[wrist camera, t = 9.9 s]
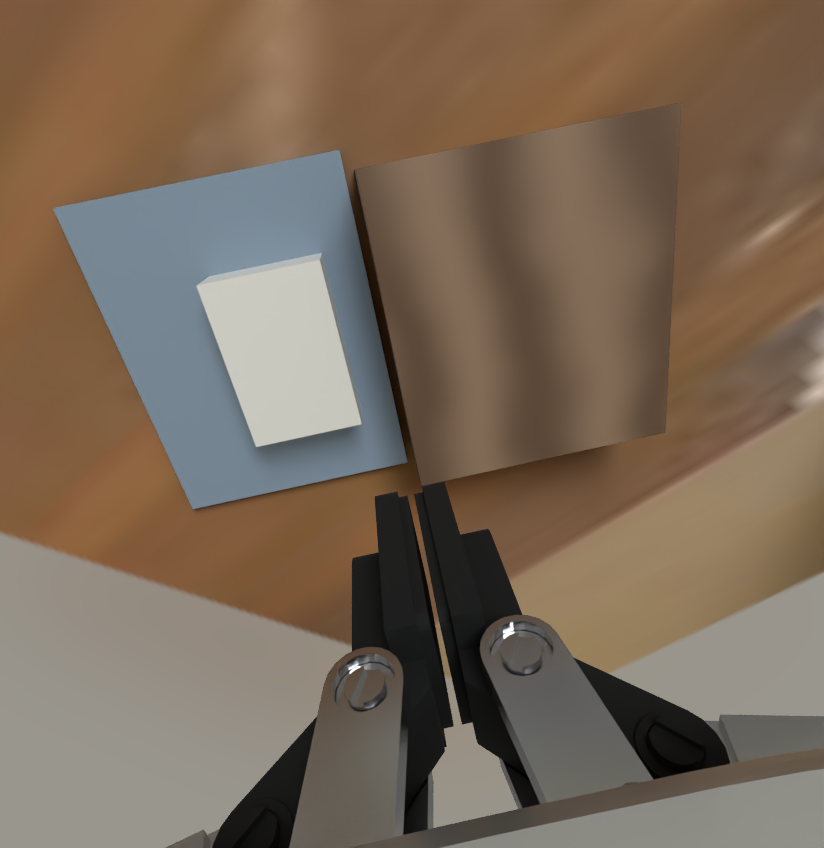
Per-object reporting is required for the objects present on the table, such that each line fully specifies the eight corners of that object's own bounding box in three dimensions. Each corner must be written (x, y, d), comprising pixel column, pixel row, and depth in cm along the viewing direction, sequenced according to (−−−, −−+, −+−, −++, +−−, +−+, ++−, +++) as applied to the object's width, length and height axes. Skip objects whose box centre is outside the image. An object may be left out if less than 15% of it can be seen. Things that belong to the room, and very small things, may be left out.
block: (196, 285, 24) (208, 276, 27) (256, 447, 28) (262, 427, 31) (319, 260, 24) (321, 252, 27) (361, 424, 28) (360, 406, 31)
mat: (339, 150, 25) (339, 149, 25) (406, 458, 33) (407, 462, 33) (58, 207, 25) (52, 208, 24) (194, 504, 33) (192, 509, 33)
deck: (624, 115, 26) (681, 102, 21) (622, 397, 33) (665, 432, 29) (354, 170, 26) (355, 169, 21) (411, 443, 33) (421, 485, 28)
